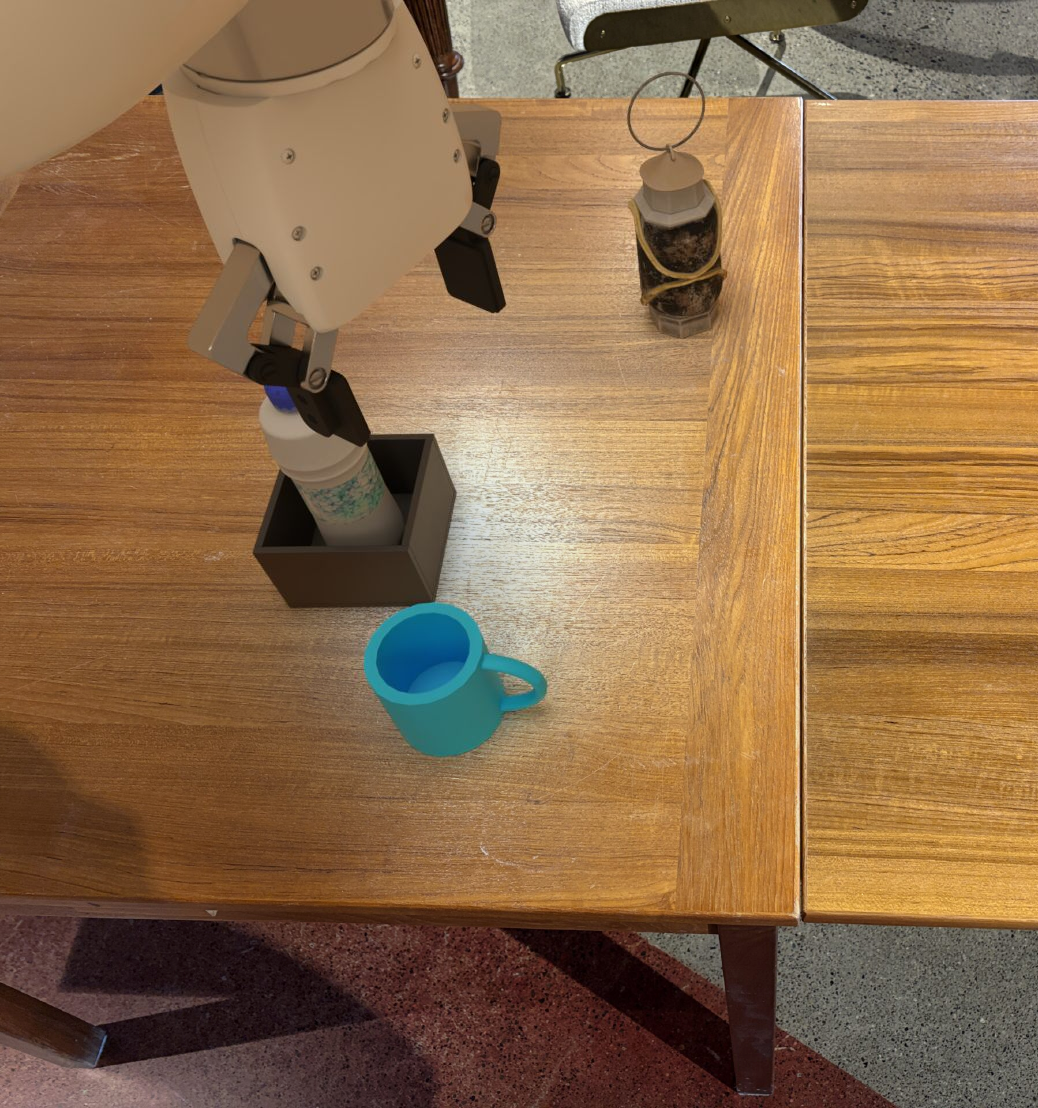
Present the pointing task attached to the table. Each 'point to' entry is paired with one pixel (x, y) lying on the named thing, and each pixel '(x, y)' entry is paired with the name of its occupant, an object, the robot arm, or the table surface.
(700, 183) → the lantern
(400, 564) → the bin
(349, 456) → the bottle
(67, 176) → the table surface
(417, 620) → the mug
